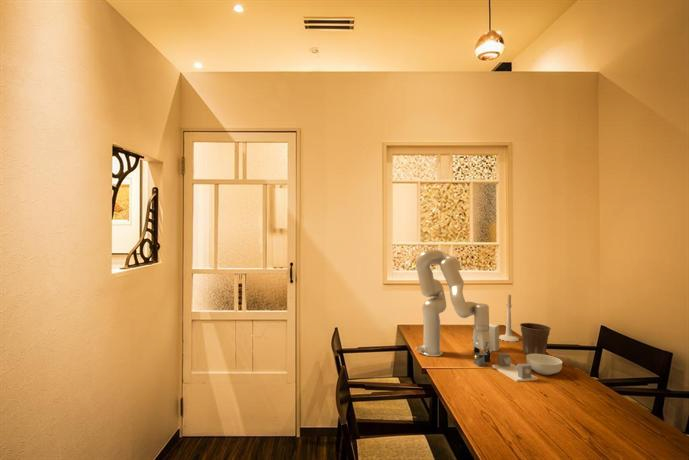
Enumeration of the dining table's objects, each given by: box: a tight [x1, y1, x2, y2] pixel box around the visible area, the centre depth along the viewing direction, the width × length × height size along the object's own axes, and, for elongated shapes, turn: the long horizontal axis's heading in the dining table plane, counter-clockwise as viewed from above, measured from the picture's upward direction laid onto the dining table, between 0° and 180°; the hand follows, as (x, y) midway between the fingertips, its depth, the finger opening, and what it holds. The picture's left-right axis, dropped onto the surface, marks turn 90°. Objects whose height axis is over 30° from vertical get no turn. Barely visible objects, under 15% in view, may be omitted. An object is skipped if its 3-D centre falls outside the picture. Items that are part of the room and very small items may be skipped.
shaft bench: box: [491, 352, 539, 383], centre depth 196 cm, size 12×20×7 cm, turn 13°
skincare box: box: [485, 323, 501, 352], centre depth 234 cm, size 8×6×15 cm
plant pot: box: [519, 322, 552, 355], centre depth 227 cm, size 16×16×16 cm
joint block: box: [473, 351, 488, 367], centre depth 208 cm, size 7×4×6 cm
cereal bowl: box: [525, 354, 563, 376], centre depth 198 cm, size 17×17×7 cm
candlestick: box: [499, 293, 520, 343], centre depth 255 cm, size 13×13×30 cm
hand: (482, 358), depth 207 cm, fingers open, 9 cm apart
